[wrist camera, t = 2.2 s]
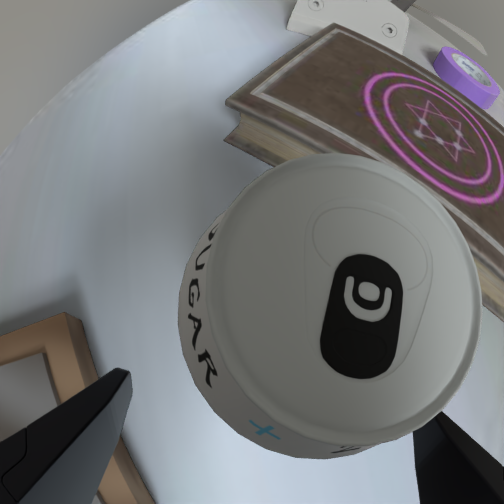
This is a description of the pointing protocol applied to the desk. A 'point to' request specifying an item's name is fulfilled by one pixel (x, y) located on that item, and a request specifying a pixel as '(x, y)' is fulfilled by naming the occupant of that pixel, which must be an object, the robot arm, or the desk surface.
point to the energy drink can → (330, 308)
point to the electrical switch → (402, 4)
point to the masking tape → (466, 77)
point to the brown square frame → (58, 392)
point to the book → (384, 131)
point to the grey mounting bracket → (353, 19)
